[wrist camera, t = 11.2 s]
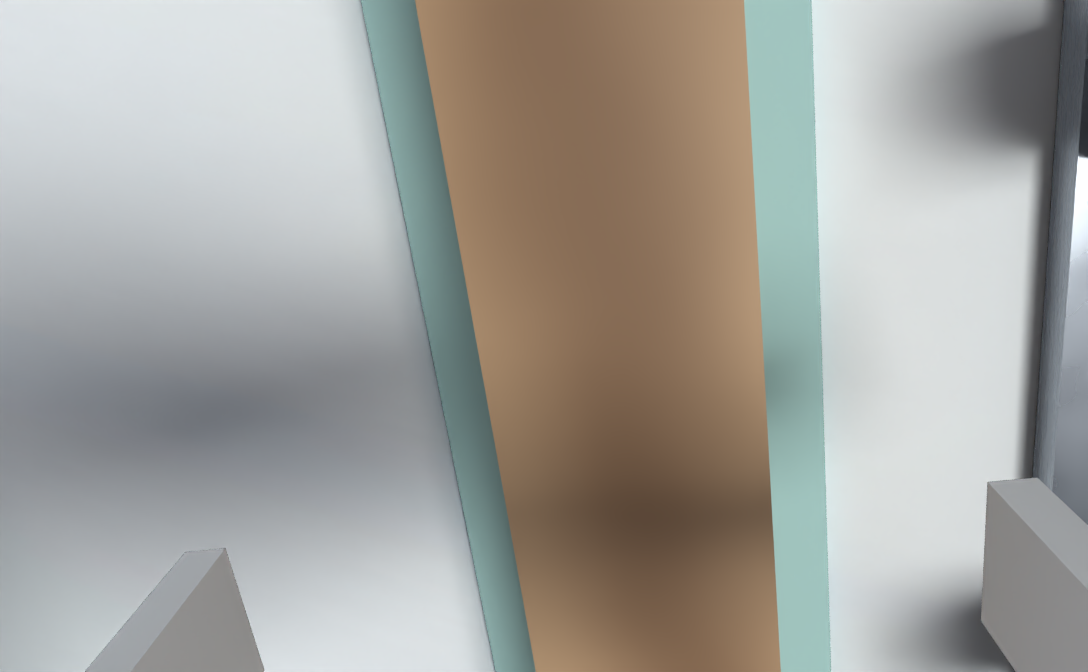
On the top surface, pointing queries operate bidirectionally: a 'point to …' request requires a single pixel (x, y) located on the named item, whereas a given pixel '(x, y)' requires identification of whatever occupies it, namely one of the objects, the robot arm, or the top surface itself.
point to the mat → (786, 313)
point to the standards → (1067, 284)
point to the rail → (616, 319)
